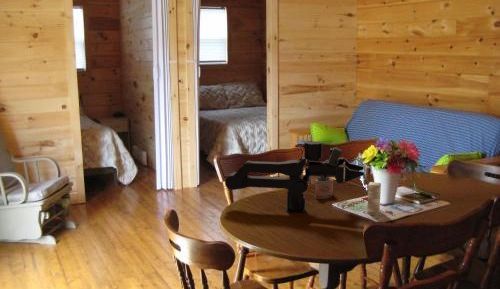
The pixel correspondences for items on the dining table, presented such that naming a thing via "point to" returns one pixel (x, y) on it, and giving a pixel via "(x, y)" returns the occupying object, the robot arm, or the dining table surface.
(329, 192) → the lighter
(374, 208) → the block
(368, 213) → the plinth
